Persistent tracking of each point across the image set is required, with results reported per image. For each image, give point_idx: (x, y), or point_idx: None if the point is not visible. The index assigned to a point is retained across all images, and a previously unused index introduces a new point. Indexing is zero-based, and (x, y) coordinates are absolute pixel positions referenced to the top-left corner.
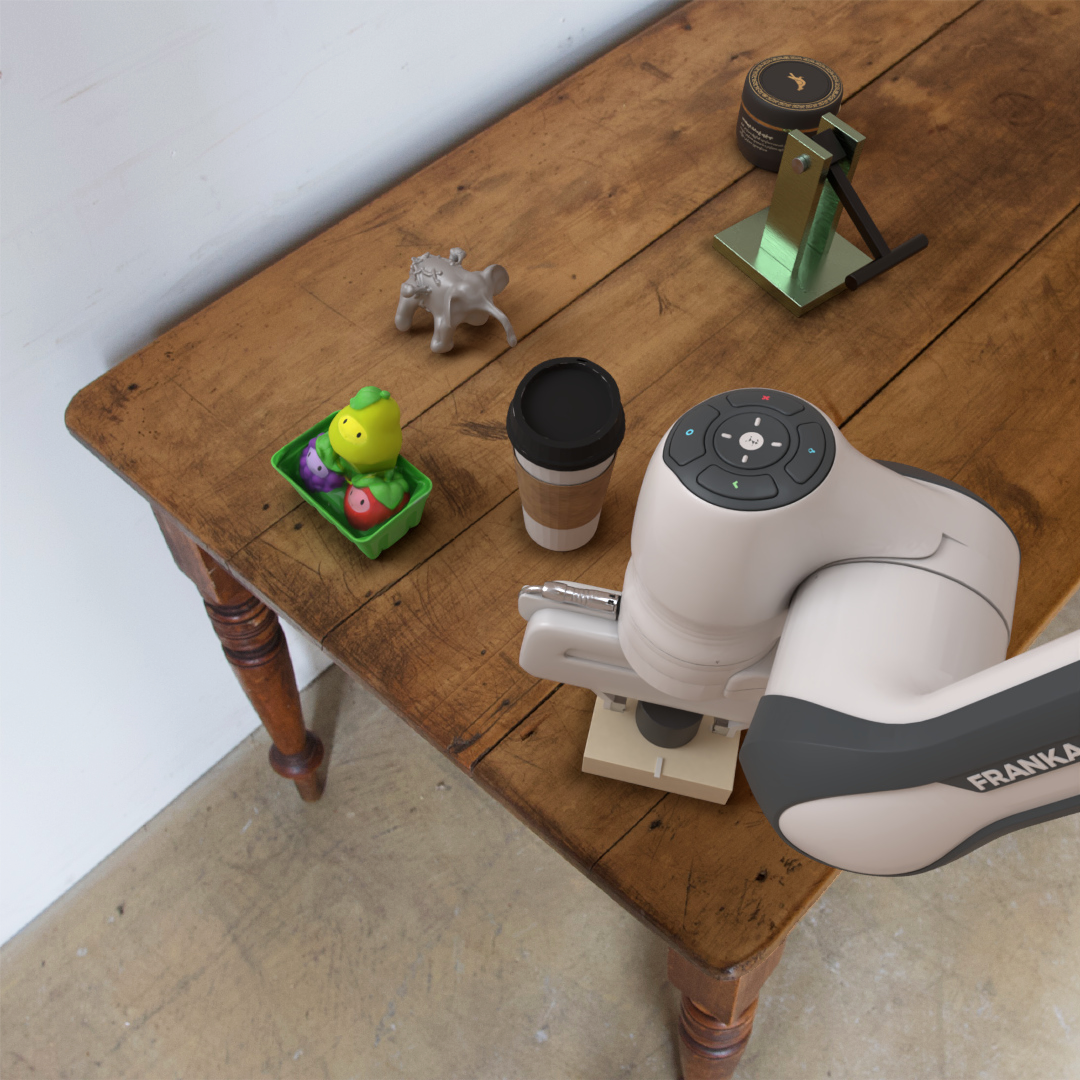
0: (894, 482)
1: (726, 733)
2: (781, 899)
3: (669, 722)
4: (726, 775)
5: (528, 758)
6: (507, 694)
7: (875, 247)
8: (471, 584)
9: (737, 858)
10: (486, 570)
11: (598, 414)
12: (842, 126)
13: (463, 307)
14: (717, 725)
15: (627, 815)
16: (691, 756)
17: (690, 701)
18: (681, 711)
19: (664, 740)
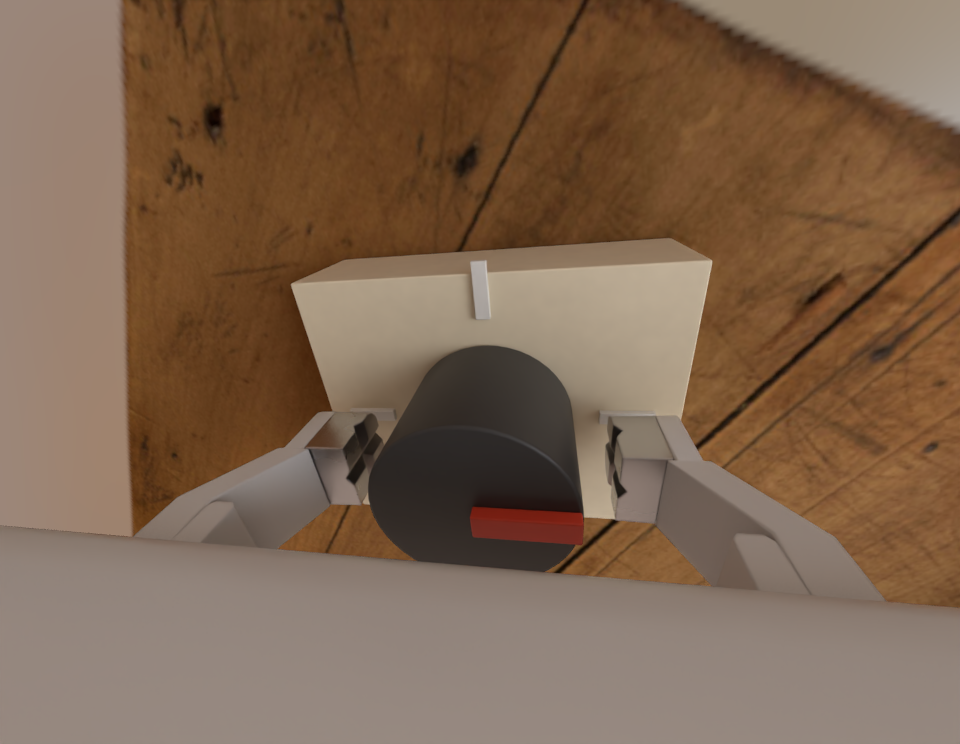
0: None
1: (325, 424)
2: (153, 78)
3: (460, 445)
4: (318, 317)
5: (824, 229)
6: (874, 372)
7: None
8: (939, 558)
9: (274, 145)
10: (898, 580)
11: None
12: None
13: None
14: (337, 448)
15: (537, 160)
16: (411, 341)
17: (279, 729)
18: (434, 482)
19: (476, 369)
